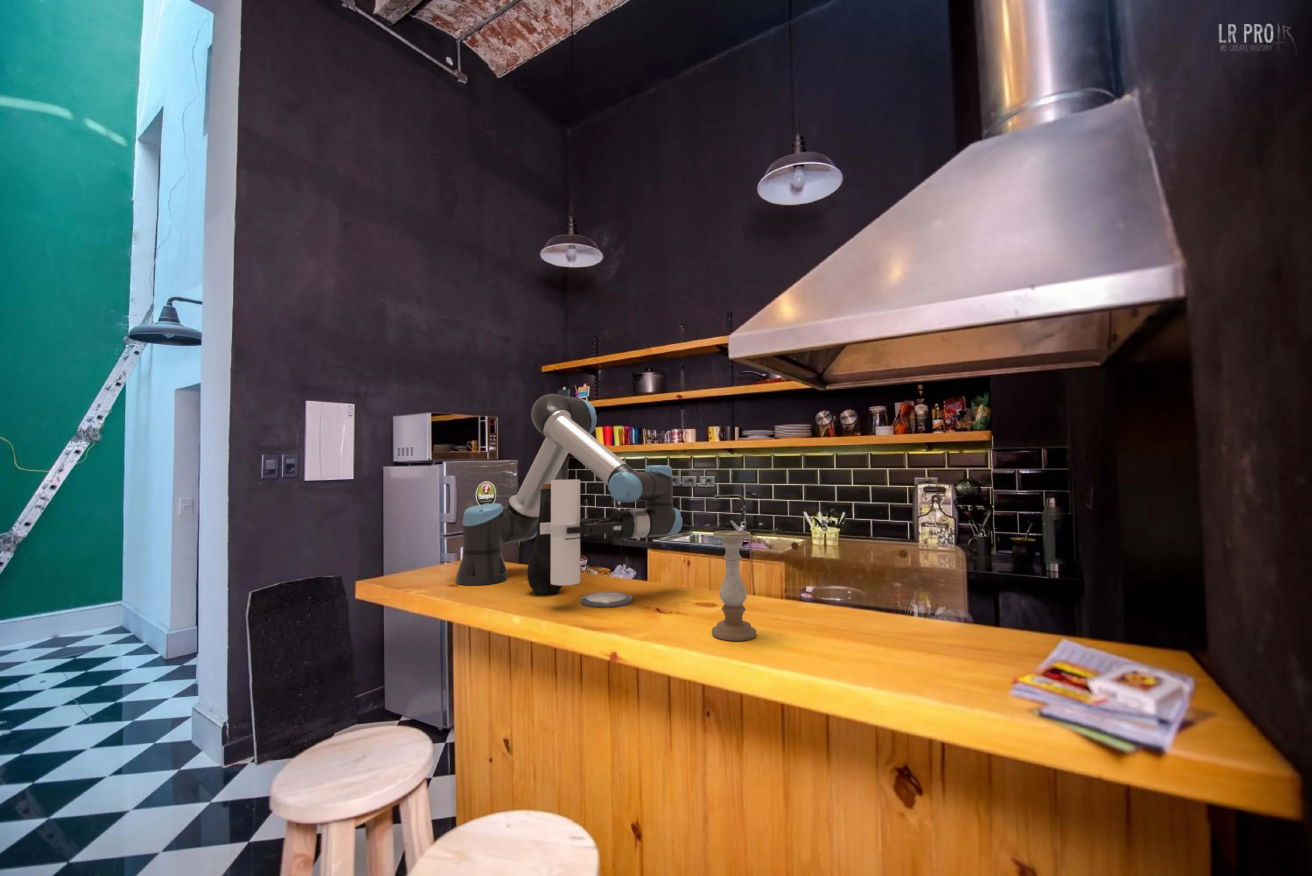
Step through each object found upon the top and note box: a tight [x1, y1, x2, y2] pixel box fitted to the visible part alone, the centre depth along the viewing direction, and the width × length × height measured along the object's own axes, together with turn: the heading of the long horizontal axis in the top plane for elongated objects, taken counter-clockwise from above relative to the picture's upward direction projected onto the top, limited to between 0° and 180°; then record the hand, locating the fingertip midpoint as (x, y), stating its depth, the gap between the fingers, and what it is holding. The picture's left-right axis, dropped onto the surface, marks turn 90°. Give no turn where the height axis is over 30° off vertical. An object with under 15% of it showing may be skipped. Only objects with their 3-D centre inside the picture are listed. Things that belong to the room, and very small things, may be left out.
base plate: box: [580, 591, 633, 609], centre depth 134 cm, size 13×13×1 cm
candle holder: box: [711, 530, 757, 642], centre depth 106 cm, size 9×9×20 cm
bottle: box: [526, 484, 564, 597], centre depth 146 cm, size 11×11×30 cm
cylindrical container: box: [551, 479, 581, 586], centre depth 129 cm, size 7×7×25 cm
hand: (546, 529), depth 126 cm, fingers closed on cylindrical container, 7 cm apart
